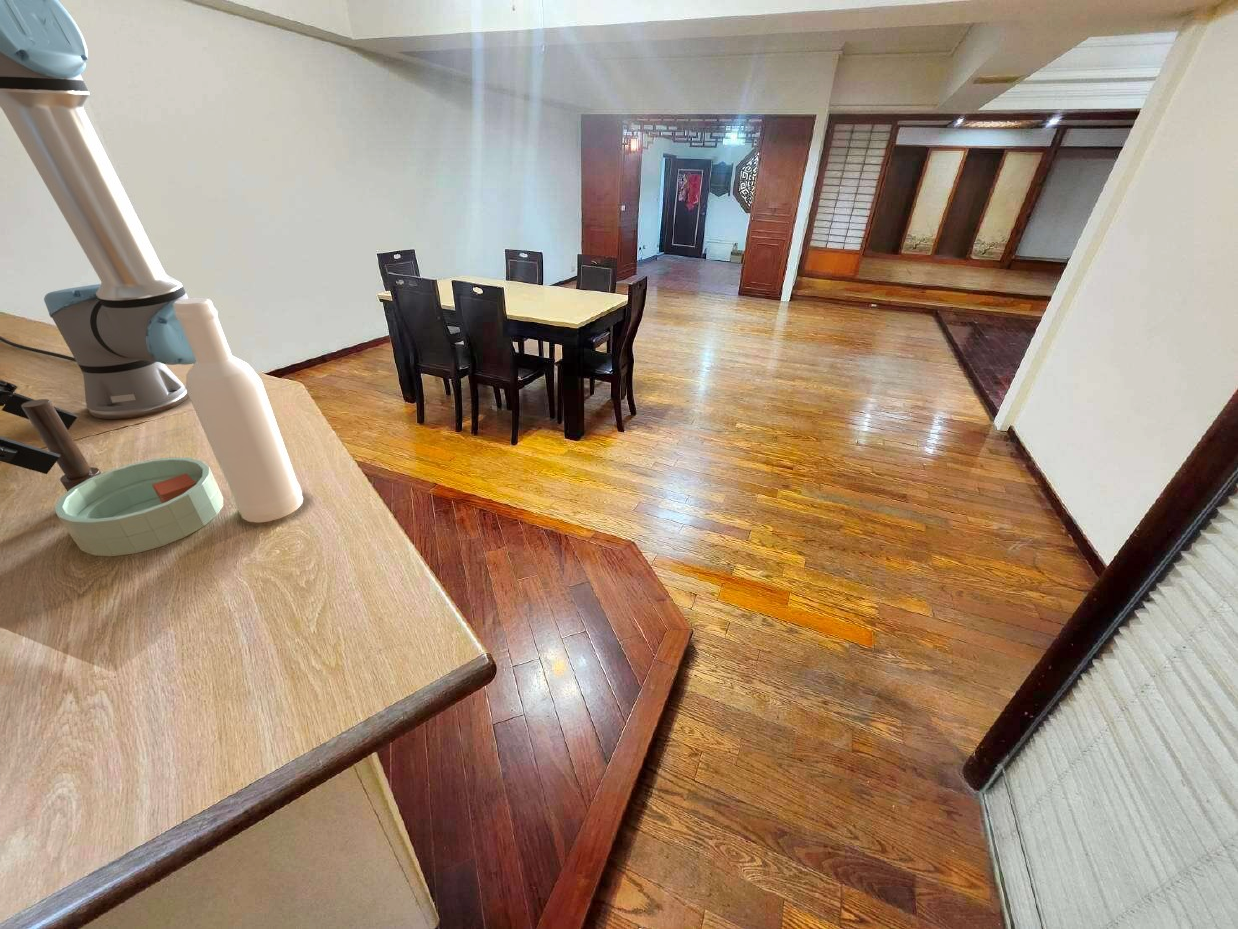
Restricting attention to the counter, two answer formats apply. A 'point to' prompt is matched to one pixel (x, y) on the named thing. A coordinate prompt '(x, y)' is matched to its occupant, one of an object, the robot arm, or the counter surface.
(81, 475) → the pestle
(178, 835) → the counter surface
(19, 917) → the counter surface
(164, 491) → the block
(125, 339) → the robot arm
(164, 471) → the bowl
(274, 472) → the bottle
